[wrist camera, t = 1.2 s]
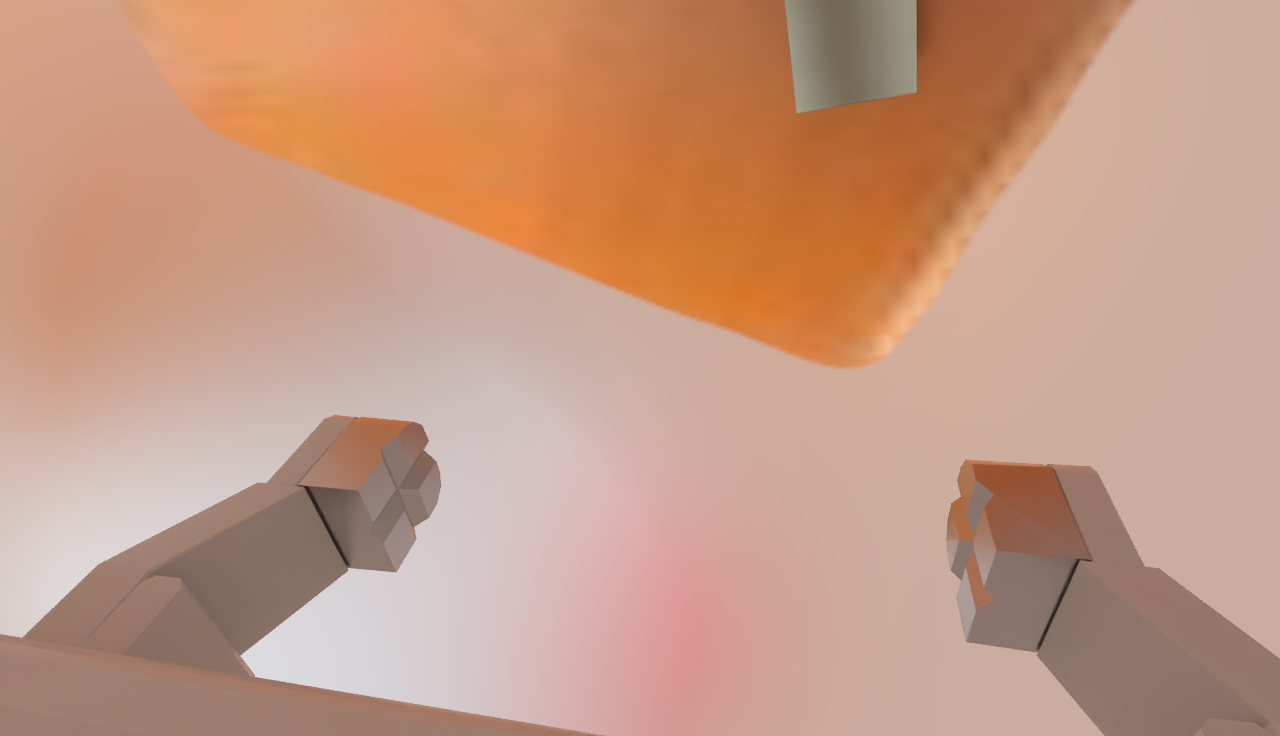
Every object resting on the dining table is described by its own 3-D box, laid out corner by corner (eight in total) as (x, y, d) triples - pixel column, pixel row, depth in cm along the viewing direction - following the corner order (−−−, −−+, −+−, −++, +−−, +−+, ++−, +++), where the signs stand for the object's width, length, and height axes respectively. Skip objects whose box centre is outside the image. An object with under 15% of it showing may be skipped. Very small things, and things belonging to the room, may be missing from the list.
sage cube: (907, -61, 29) (916, -41, 25) (908, 59, 32) (916, 92, 28) (790, -33, 31) (783, -10, 27) (801, 79, 34) (796, 113, 30)
